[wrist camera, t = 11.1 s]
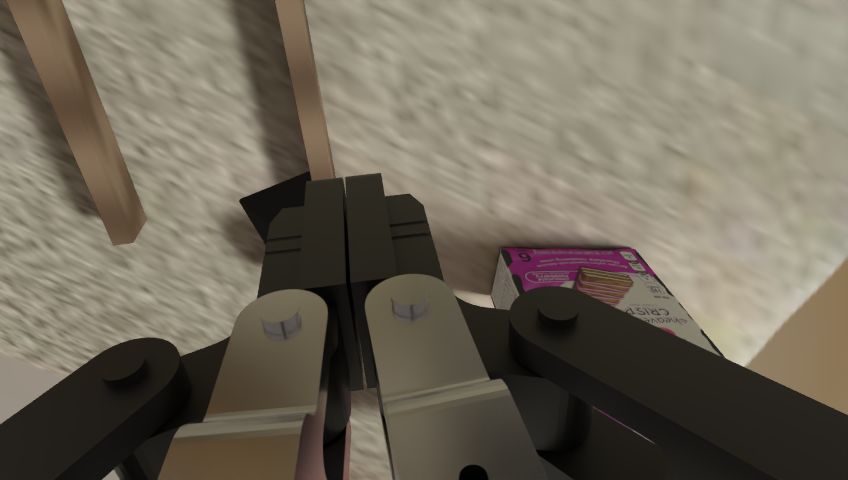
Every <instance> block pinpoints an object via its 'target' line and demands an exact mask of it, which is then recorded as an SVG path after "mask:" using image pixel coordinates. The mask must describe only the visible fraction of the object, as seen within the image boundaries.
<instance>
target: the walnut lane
mask: <svg viewBox="0 0 848 480" xmlns="http://www.w3.org/2000/svg"><path fill="white" fill-rule="evenodd" d="M6 1H7V4H8V6H9V8H10V10H11V13H12V15H13V17H14V20H15V22H16V24H17V26H18V29H19V31H20V33H21V36H22V38H23V40H24V42H25V45H26V47H27V49H28V52H29V54H30V56H31V58H32V61H33V63H34V65H35V68H36V70H37V72H38V74H39V77H40V79H41V81H42V84H43V86H44V88H45V90H46V93H47V95H48V97H49V100H50V102H51V104H52V106H53V109H54V111H55V113H56V116H57V118H58V120H59V123H60V125H61V127H62V129H63V132H64V134H65V136H66V139H67V141H68V143H69V145H70V148H71V150H72V152H73V155H74V157H75V159H76V161H77V164H78V166H79V168H80V171H81V173H82V175H83V177H84V180H85V182H86V184H87V187H88V189H89V191H90V193H91V196H92V198H93V200H94V203H95V205H96V207H97V209H98V212H99V214H100V216H101V219H102V221H103V223H104V225H105V228H106V230H107V232H108V235H109V237H110V239H111V241H112V244H113V245H121V244H129V243H133V242H134V240H135V239H136V237H137V235H138V234H139V232H140V230H141V229H142V227H143V225H144V224H145V222H146V220H147V218H146V216H145V213H144V211H143V208H142V206H141V203H140V200H139V198H138V195H137V193H136V190H135V188H134V185H133V182H132V180H131V177H130V175H129V172H128V170H127V167H126V164H125V162H124V159H123V157H122V154H121V152H120V149H119V146H118V144H117V141H116V139H115V136H114V134H113V131H112V128H111V126H110V123H109V121H108V118H107V116H106V113H105V110H104V108H103V105H102V103H101V100H100V98H99V95H98V93H97V90H96V87H95V85H94V82H93V80H92V77H91V75H90V72H89V69H88V67H87V64H86V62H85V59H84V57H83V54H82V51H81V49H80V46H79V44H78V41H77V39H76V36H75V33H74V31H73V28H72V26H71V23H70V21H69V18H68V15H67V13H66V10H65V8H64V5H63V3H62V0H6ZM275 3H276V7H277V12H278V17H279V22H280V27H281V32H282V37H283V42H284V47H285V51H286V56H287V61H288V66H289V71H290V76H291V81H292V86H293V91H294V95H295V100H296V105H297V110H298V115H299V120H300V125H301V130H302V135H303V139H304V144H305V149H306V154H307V159H308V164H309V169H310V174H311V179H312V181H315V180H324V179H333V178H336V177H335V172H334V166H333V161H332V155H331V149H330V144H329V138H328V133H327V127H326V122H325V116H324V111H323V105H322V99H321V94H320V88H319V83H318V77H317V72H316V66H315V60H314V55H313V49H312V44H311V38H310V33H309V27H308V22H307V16H306V10H305V5H304V0H275Z"/></svg>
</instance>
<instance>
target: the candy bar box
mask: <svg viewBox="0 0 848 480" xmlns="http://www.w3.org/2000/svg"><path fill="white" fill-rule="evenodd" d="M543 286H561V287H568V288H571V289H575V290H578V291H580V292H583V293H585V294H587V295H589V296H592V297H594V298H596V299H598V300H600V301H602V302H605V303H607V304H609V305H611V306H613V307H615V308H617V309H620V310H622V311H624V312H626V313H628V314H630V315H633V316H635V317H637V318H639V319H641V320H643V321H646V322H648V323H650V324H652V325H654V326H656V327H658V328H661V329H663V330H665V331H667V332H669V333H671V334H674V335H676V336H678V337H680V338H682V339H684V340H687V341H689V342H691V343H693V344H695V345H697V346H699V347H702V348H704V349H706V350H708V351H710V352H712V353H715V354H717V355H719V356H721V357H723V358H725V357H724V356H723V354H722V353H721V352H720V351H719V350H718V348H717V347H716V346H715V345H714V343H713V342H712V341H711V340H710V339H709V338H708V336H707V335H706V334H705V333H704V331H703V330H702V329H701V328H700V327H699V325H698V324H697V323H696V322H695V321H694V320H693V319H692V318H691V316H690V315H689V314H688V313H687V311H686V310H685V309H684V308H683V307H682V305H681V304H680V303H679V301H678V300H677V299H676V298H675V297H674V296H673V295H672V293H671V292H670V291H669V290H668V289H667V288H666V286H665V285H664V284H663V282H662V281H661V280H660V279H659V278H658V276H657V275H656V274H655V273H654V272H653V270H652V269H651V268H650V267H649V266H648V264H647V263H646V262H645V261H644V259H643V258H642V257H641V256H640V255H639V253H638V252H637V251H636V250H635V249H561V248H500V252H499V256H498V263H497V270H496V275H495V279H494V283H493V289H492V293H491V299H492V301H493V304H494V307H495V309H505V310H510V307H511V305H512V303H513V301H514V300H515V299H516V298H517V297H518V296H519V295H521V294H522V293H524V292H526V291H528V290H530V289H534V288H537V287H543ZM725 359H726V358H725ZM594 408H595V407H594ZM597 410H598V409H597ZM599 411H600V410H599ZM602 413H603V412H602ZM604 414H605V413H604ZM607 416H608V415H607ZM609 417H610V416H609ZM614 420H615V419H614ZM619 423H620V422H619ZM621 424H622V423H621ZM624 426H625V425H624ZM626 427H627V426H626ZM629 429H630V428H629ZM631 430H632V429H631ZM634 432H635V431H634ZM636 433H637V432H636ZM641 436H642V435H641ZM646 439H647V438H646ZM648 440H649V439H648ZM651 442H652V441H651Z"/></svg>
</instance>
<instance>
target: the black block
mask: <svg viewBox="0 0 848 480" xmlns="http://www.w3.org/2000/svg"><path fill="white" fill-rule="evenodd" d="M307 181H312V179H311V174H310V171H309V172H306V173H304V174H301V175H299V176H296V177H294V178H291V179H289V180H286V181H284V182H281V183H279V184H276V185H274V186H271V187H269V188H266V189H264V190H261V191H259V192H256V193H254V194H252V195H249V196H247V197H244V198H242V199H240V200H239V202H240V204H241V205H242V207H243V209H244V210H245V212H246V213H247V215H248V217H249V218H250V220H251V222H252V223H253V225H254V227H255V228H256V230H257V231H258V233H259V235H260V236H261V238H262V240H263V241H264V243H265V245H266V243H267V237H268V231H269V225H270V223H271V221H272V220H273V219H274V218H275V217H276V216H277V215H278V213H279V212H280V211H281V210H282V209H283V208H291V207H300V206H304V202H305V189H306V182H307Z"/></svg>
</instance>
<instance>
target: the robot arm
mask: <svg viewBox="0 0 848 480" xmlns="http://www.w3.org/2000/svg"><path fill="white" fill-rule="evenodd" d="M345 179H346V194H345V187H344V181H343V178H333V179H324V180H315V181H307V182H306V189H305V202H304V206H300V207H291V208H283V209H282V210H281V211H280V212H279V213H278V215H277V216H276V217H275V218H274V219H273V220H272V221H271V223H270V225H269V231H268V237H267V243H266V248H265V256H264V260H263V266H262V272H261V278H260V284H259V290H258V296H257V299H256V300H254V301H253V302H251V303H250V304H249V305H247V306H246V307H245V308H244V309H243V310H242V311H241V313H240V314H239V315H238V317H237V319H236V321H235V324H234V327H233V331H232V334H231V336H230V337H228V338H226V339H224V340H222V341H220V342H218V343H216V344H213V345H211V346H208V347H205V348H203V349H200V350H197V351H194V352H192V353H189V354H186V355H183V356H180V354H179V352H178V350H177V348H176V347H175V346H174V345H173V344H172V343H170V342H169V341H166V340H163V339H159V338H139V339H134V340H129V341H126V342H123V343H120V344H118V345H115V346H113V347H111V348H109V349H107V350H105V351H103V352H102V353H100V354H99V355H97V356H95V357H94V358H93V359H91V360H90V361H88V362H87V363H86V364H84V365H83V366H81V367H80V368H79V369H77V370H76V371H74V372H73V373H72V374H70V375H69V376H67V377H66V378H65V379H63V380H62V381H60V382H59V383H58V384H56V385H55V386H53V387H52V388H51V389H49V390H48V391H46V392H45V393H44V394H42V395H41V396H39V397H38V398H37V399H36V400H34V401H33V402H31V403H30V404H28V405H27V406H26V407H24V408H23V409H21V410H20V411H19V412H17V413H16V414H14V415H13V416H11V417H10V418H9V419H7V420H6V421H4V422H3V423H2V424H0V480H102V479H103V478H104V477H105V476H106V475H108V474H109V473H110V472H111V471H112V470H113V469H114V470H115V472H116V474H117V475H118V477H119V479H120V480H349V463H350V444H351V426H350V421H349V418H350V414H351V398H350V391H356V390H363V389H364V386H363V370H362V357H363V363H364V370H365V376H366V382H367V388H375V387H377V393H378V400H379V406H380V414H381V420H382V427H383V433H384V438H385V443H386V449H387V454H388V459H389V465H390V470H391V475H392V480H848V415H846V414H844V413H842V412H840V411H838V410H835V409H833V408H831V407H829V406H827V405H825V404H822V403H820V402H818V401H816V400H814V399H812V398H809V397H807V396H805V395H803V394H801V393H799V392H797V391H794V390H792V389H790V388H788V387H786V386H784V385H781V384H779V383H777V382H775V381H773V380H770V379H768V378H766V377H764V376H762V375H760V374H758V373H756V372H753V371H751V370H749V369H747V368H745V367H743V366H740V365H738V364H736V363H734V362H732V361H730V360H728V359H725V358H723V357H721V356H719V355H717V354H715V353H712V352H710V351H708V350H706V349H704V348H702V347H699V346H697V345H695V344H693V343H691V342H689V341H687V340H684V339H682V338H680V337H678V336H676V335H674V334H671V333H669V332H667V331H665V330H663V329H661V328H658V327H656V326H654V325H652V324H650V323H648V322H646V321H643V320H641V319H639V318H637V317H635V316H633V315H630V314H628V313H626V312H624V311H622V310H620V309H617V308H615V307H613V306H611V305H609V304H607V303H605V302H602V301H600V300H598V299H596V298H594V297H592V296H589V295H587V294H585V293H583V292H580V291H578V290H575V289H571V288H568V287H561V286H543V287H537V288H534V289H530V290H528V291H526V292H524V293H522V294H521V295H519V296H518V297H517V298H516V299H515V300H514V301H513V303H512V305H511V307H510V310H505V309H495V308H486V307H480V306H476V305H472V304H470V303H467V302H465V301H463V300H461V299H459V298H458V297H456V296H455V295H454V293H453V291H452V289H451V288H450V287H449V286H448V285H447V284H446V283H445V282H444V279H443V276H442V272H441V268H440V265H439V261H438V257H437V254H436V250H435V246H434V243H433V239H432V235H431V232H430V228H429V224H428V222H427V217H426V213H425V210H424V206H423V205H422V204H421V203H420V202H419V201H418V200H416V199H415V198H414V197H413V196H412V195H411V194H402V195H394V196H385V195H384V189H383V183H382V177H381V173H376V174H367V175H358V176H350V177H345ZM361 351H362V354H361ZM594 407H595V408H594ZM597 409H598V410H597ZM599 410H600V411H599ZM602 412H603V413H602ZM604 413H605V414H604ZM607 415H608V416H607ZM609 416H610V417H609ZM614 419H615V420H614ZM619 422H620V423H619ZM621 423H622V424H621ZM624 425H625V426H624ZM626 426H627V427H626ZM629 428H630V429H629ZM631 429H632V430H631ZM634 431H635V432H634ZM636 432H637V433H636ZM641 435H642V436H641ZM646 438H647V439H646ZM648 439H649V440H648ZM651 441H652V442H651Z"/></svg>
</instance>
